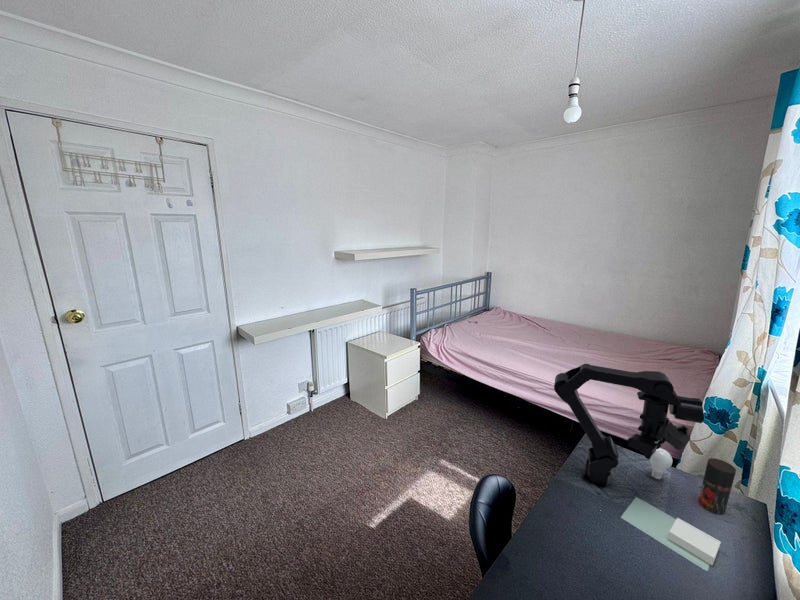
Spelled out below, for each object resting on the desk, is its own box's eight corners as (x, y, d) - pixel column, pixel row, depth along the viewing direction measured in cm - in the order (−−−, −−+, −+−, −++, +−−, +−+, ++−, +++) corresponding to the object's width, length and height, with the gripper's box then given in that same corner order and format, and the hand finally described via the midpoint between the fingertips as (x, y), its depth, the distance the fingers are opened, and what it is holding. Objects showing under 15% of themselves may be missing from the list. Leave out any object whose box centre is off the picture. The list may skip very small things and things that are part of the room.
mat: (620, 518, 95) (620, 517, 95) (635, 498, 102) (636, 496, 102) (706, 573, 80) (707, 571, 80) (718, 544, 87) (718, 543, 87)
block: (669, 531, 88) (714, 558, 80) (677, 517, 92) (720, 541, 85) (667, 539, 88) (712, 566, 81) (675, 525, 92) (718, 549, 85)
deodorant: (730, 517, 95) (741, 474, 91) (706, 514, 96) (717, 471, 93) (715, 500, 100) (725, 459, 97) (693, 498, 102) (702, 457, 98)
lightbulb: (644, 479, 109) (650, 451, 106) (644, 468, 114) (649, 441, 112) (669, 488, 105) (675, 459, 103) (667, 475, 111) (673, 448, 108)
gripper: (677, 440, 86) (668, 489, 89) (699, 414, 96) (691, 459, 99) (629, 420, 95) (623, 466, 98) (654, 399, 105) (648, 441, 108)
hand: (647, 458), depth 101 cm, fingers closed
